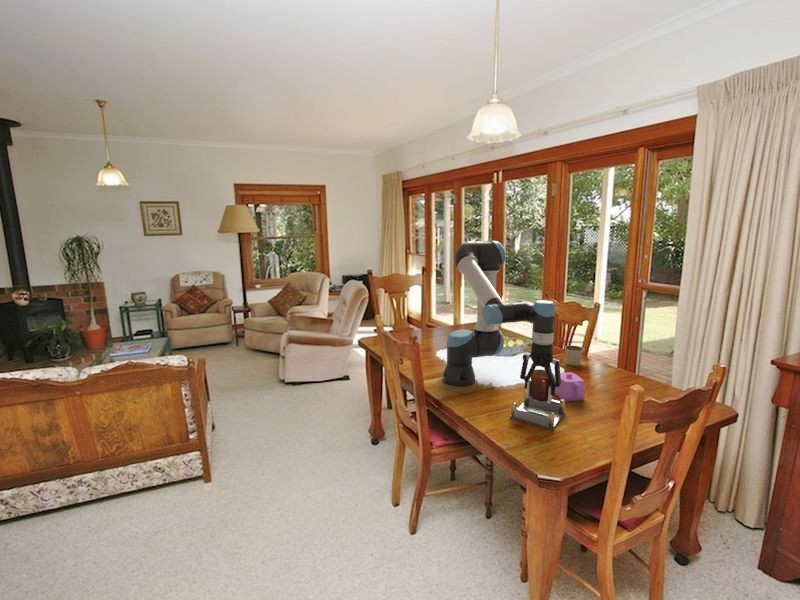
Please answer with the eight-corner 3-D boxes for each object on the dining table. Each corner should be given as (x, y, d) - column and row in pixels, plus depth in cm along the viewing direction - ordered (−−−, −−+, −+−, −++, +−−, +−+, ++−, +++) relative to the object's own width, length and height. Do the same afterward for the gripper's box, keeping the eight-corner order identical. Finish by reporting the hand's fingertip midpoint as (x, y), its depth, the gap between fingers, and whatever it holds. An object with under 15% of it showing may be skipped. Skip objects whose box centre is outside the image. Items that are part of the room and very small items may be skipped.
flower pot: (565, 359, 220) (567, 344, 219) (584, 363, 215) (586, 347, 213) (561, 364, 213) (562, 348, 211) (580, 368, 208) (581, 352, 206)
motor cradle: (509, 418, 158) (510, 403, 156) (524, 403, 170) (525, 389, 169) (552, 430, 148) (553, 415, 147) (565, 413, 161) (566, 399, 159)
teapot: (545, 387, 185) (546, 366, 183) (567, 386, 187) (568, 364, 185) (566, 405, 168) (568, 382, 166) (590, 403, 169) (593, 380, 167)
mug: (527, 393, 164) (528, 368, 162) (550, 394, 162) (551, 370, 160) (530, 406, 152) (531, 380, 150) (555, 408, 150) (556, 381, 149)
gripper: (512, 340, 156) (509, 396, 161) (568, 349, 144) (563, 410, 149) (519, 335, 162) (517, 390, 166) (573, 344, 150) (569, 402, 155)
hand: (539, 399), depth 158 cm, fingers closed on mug, 7 cm apart
